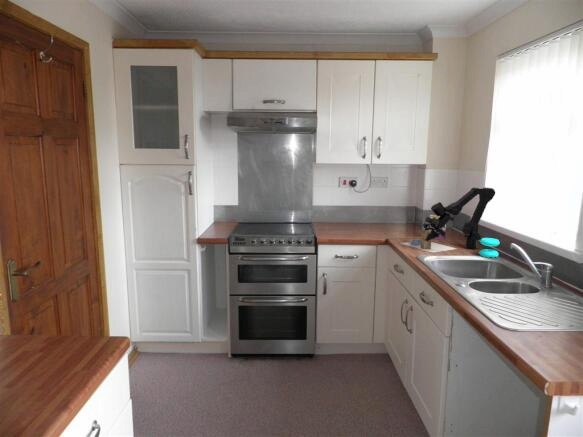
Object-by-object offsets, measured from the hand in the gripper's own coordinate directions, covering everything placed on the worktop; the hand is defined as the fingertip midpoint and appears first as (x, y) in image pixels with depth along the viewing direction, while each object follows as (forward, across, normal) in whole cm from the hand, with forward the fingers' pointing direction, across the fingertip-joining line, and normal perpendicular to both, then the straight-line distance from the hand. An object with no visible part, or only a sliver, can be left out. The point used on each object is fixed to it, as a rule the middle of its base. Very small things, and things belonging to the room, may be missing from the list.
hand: (424, 239), depth 242 cm
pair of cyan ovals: (-16, +19, +26) cm, 37 cm away
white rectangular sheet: (0, -6, +9) cm, 11 cm away
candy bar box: (-13, -30, +23) cm, 40 cm away
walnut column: (+3, 0, +5) cm, 6 cm away
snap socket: (+3, -12, +5) cm, 14 cm away
